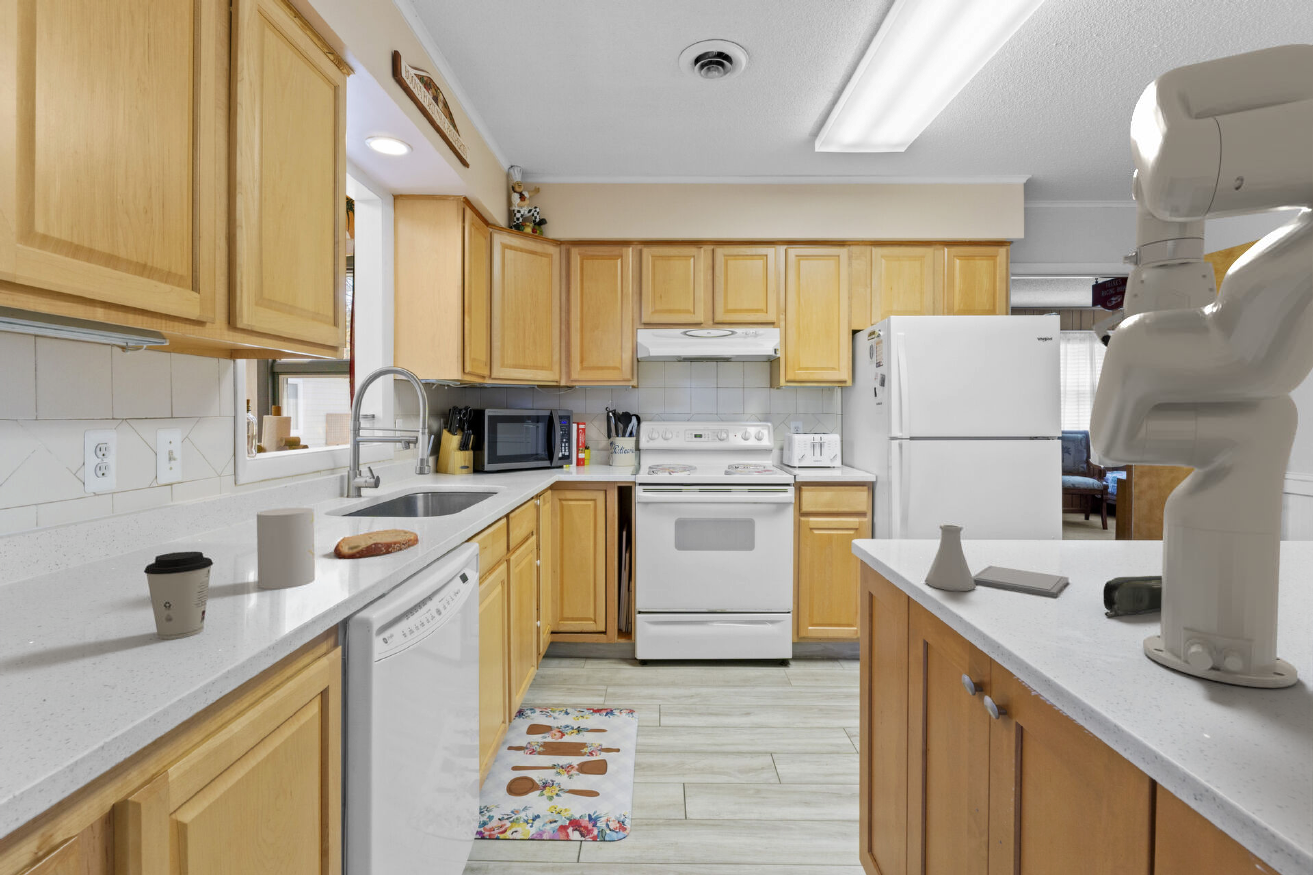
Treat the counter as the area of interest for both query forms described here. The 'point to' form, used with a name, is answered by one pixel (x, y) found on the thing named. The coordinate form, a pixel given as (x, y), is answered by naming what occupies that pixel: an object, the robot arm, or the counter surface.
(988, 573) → the grey square plate
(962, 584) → the flask
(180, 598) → the coffee cup
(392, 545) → the slice of bread
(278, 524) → the cup
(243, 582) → the counter surface
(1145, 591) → the dark green rounded block
